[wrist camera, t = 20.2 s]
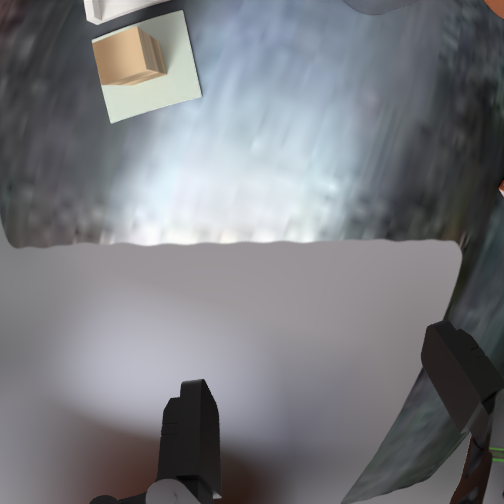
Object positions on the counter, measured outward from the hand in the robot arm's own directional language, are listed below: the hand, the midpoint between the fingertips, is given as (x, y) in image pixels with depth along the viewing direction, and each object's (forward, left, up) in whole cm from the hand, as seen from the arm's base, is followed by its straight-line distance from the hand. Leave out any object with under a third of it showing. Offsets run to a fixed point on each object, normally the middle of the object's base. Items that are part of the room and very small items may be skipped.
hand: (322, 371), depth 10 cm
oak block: (+10, -15, -34) cm, 38 cm away
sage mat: (+10, -15, -34) cm, 39 cm away
